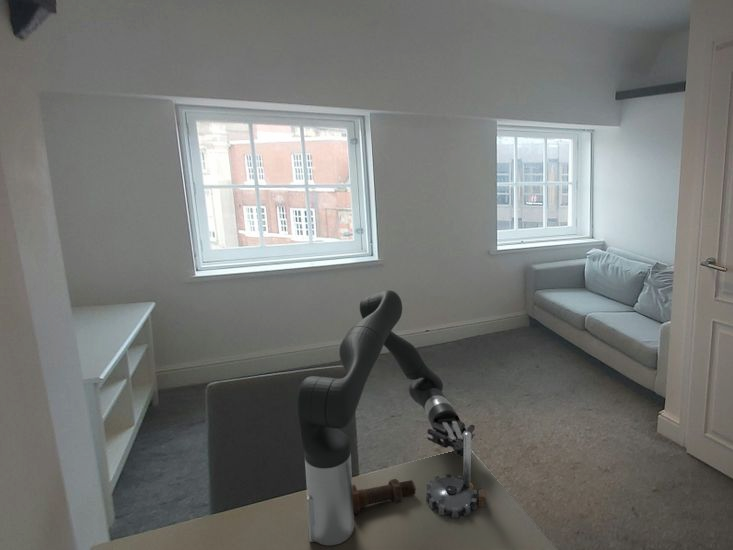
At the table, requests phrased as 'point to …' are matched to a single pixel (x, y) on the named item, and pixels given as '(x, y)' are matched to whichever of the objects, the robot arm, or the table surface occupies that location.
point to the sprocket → (454, 488)
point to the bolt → (382, 494)
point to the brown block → (482, 498)
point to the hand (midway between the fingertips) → (463, 453)
